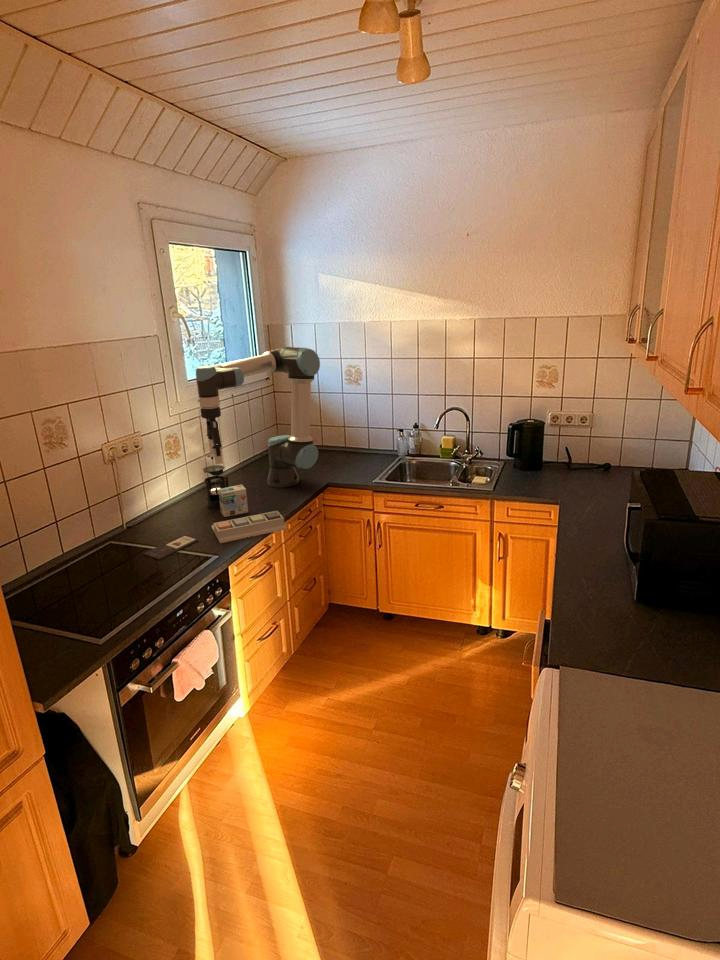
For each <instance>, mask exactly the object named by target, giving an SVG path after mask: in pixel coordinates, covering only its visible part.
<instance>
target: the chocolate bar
mask: <svg viewBox="0 0 720 960" xmlns="http://www.w3.org/2000/svg"><path fill="white" fill-rule="evenodd" d="M198 542H199V539H196V538H192V537H191V536H186V535H180V536H178V537H176V538H173V539H171V540H169V541H167V542H165V543H162V544H160V545H159V546H156V547H154V548H152V549H150V550H148V551H146V552H143V553H142V556H145V557H148V558H151V559H154V560H156V561H161V560H163V559H165V558H168V557H170V556H172V555H173V554H176V553H177V552H179V551H181V550H184V549H186V548H188V547H190V546H192V545H193V544H196V543H198Z"/></svg>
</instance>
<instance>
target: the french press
mask: <svg viewBox="0 0 720 960" xmlns="http://www.w3.org/2000/svg"><path fill="white" fill-rule="evenodd" d="M206 457H208V458H210V459H211V462H212V465H207V466H206V467H204V468H202V471H203V473H204V474H206V473H209V474H210V475H211V476H208V477H206V478H204V484H205V487H206V495H207V498H206V501H207V502H206V503H207V504H206V506H207V508H209V509H220V500H219V491H218V489H221V488H226V487H230V486H229V477H228V475H226V474H225V475H223V474H224V473H225V472H224V469H225V466H224V465H221V464H214V458H215V455H210V454H208V455H206ZM216 479H219V480H218V481H216ZM211 480H214V481H213V482H212V481H211ZM218 485H219V486H220V487H217V486H218ZM212 486H215V487H213V488H212Z"/></svg>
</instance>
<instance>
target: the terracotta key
mask: <svg viewBox="0 0 720 960" xmlns="http://www.w3.org/2000/svg"><path fill="white" fill-rule="evenodd" d="M225 521H226V522H222V521H220V522H221V523H217V522H216V523H217V527H218V528H219V530H223V529H228V528H231V524H230V523H229V521H227V520H225Z"/></svg>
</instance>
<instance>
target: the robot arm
mask: <svg viewBox="0 0 720 960" xmlns="http://www.w3.org/2000/svg"><path fill="white" fill-rule="evenodd" d="M320 367H321V362H320V357H319V355H318V353H316V351H315V350H313V349H311V348H307V347H293V346H285V347H280V348H276V349H273V350H268V351H265V352H263V353H262V354H260V355H255V356H251V357H247V358H243V359H241V358H240V359H237V360H232V361H229V362H228V361H227V362H224V363H218V364H215V365H202V366H198V367H197V368H196V369H195V380H196V387H197V393H198V398H199V399H197V402H198V403H199V407H200V417H201V418H202V419H205V420H206V421H205V423H206V436H207V439H208V447H209V455H215V457H214V463H215V465H221V464H223V463H224V462H223V452H222V447H223V445H222V441H221V435H220V430H219V429H220V428H219V422H218V421H217V420H216V419H217V418H219V417H221V414H222V412H221V407H220V405H221V403H220V401H221V400H220V394H219V391H221V390H226V389H231V388H232V389H233V388H237V387H240V386H242V385H243V384H244V382H245V378H247V377H250V376H255V375H260V374H263V373H268V374H272V373H285V374H287V377H288V378H287V379H288V380H289V381H290V382H291V405H290V406H291V409H290V410H291V415H290V416H291V418H290V419H291V425H290V426H291V429H290V430H291V431H290V432H291V433H290V434H291V435H289V434H284V435H283V434H282V435H277V436H272V437H270V438H269V439H268V441H267V450H268V460H269V471H268V475H267V485H268V486H269V487H272V488H282V489H283V488H290V487H293V486H296V485H298V484H299V482H300V479H299V474H298V472H297V470H296V468H298V469H305V470H307V469H310V468H312V467H313V466H314V465H315V463H317V460H318V458H319V450H318V448H317V446H316V445H315V444H314V438H313V437H312V436H311V405H312V404H311V401H312V400H311V398H312V396H311V394H312V393H311V391H312V382H313V381H315V375H317V374H318V371H320Z"/></svg>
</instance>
